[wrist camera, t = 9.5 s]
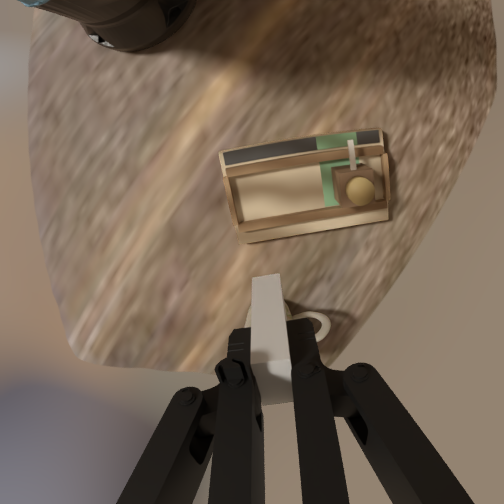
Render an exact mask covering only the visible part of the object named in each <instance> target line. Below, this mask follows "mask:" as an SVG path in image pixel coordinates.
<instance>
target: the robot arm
mask: <svg viewBox="0 0 504 504" xmlns="http://www.w3.org/2000/svg"><path fill="white" fill-rule="evenodd" d="M18 1H20V2H22V3H23V4H24V5H25V6H28V7H36V8H39V9H43V10H46V11H49V12H53V13H56V14H59V15H62V16H65V17H68V18H71V19H74V20H76V21H79V22H80V24H81V25H82V27H83V28H84V30H85V32H86V33H87V35H88V36H89V37H90V38H91V39H92V40H93V41H95V42H96V43H98V44H99V45H102V46H104V47H107V48H110V49H113V50H117V51H137V50H142V49H146V48H149V47H151V46H154V45H156V44H158V43H160V42H162V41H164V40H165V39H167V38H168V37H170V36H171V35H172V34H173V33H175V32H176V31H177V30H178V29H179V28H180V27H181V26H182V25H183V24H184V23H185V21H186V20H187V19H188V17H189V16H190V14H191V12H192V10H193V8H194V5H195V3H196V0H18ZM215 372H216V375H217V377H218V379H219V382H220V383H219V384H218V385H217V386H215V387H213V388H211V389H207V390H204V391H200V390H199V389H198V388H195V387H186V388H183V389H180V390H179V391H177V392H176V393H175V395H174V396H173V398H172V399H171V401H170V403H169V405H168V407H167V409H166V411H165V413H164V414H163V417H162V418H161V420H160V422H159V424H158V426H157V428H156V430H155V431H154V433H153V435H152V437H151V439H150V441H149V443H148V445H147V446H146V448H145V450H144V452H143V454H142V456H141V458H140V460H139V461H138V463H137V465H136V467H135V469H134V471H133V473H132V475H131V477H130V478H129V480H128V482H127V484H126V486H125V488H124V490H123V492H122V494H121V495H120V497H119V499H118V501H117V503H116V504H192V503H193V500H194V498H195V496H196V493H197V490H198V488H199V486H200V483H201V481H202V478H203V476H204V473H205V471H206V468H207V465H208V463H209V461H210V458H211V455H212V453H213V457H212V467H211V478H210V488H209V498H208V504H265V481H264V480H265V475H264V474H265V473H264V427H263V426H264V424H263V423H264V422H263V413H262V409H261V402H262V405H263V406H264V405H272V404H280V403H287V402H294V411H295V421H296V432H297V443H298V454H299V465H300V476H301V488H302V501H303V504H349V497H348V492H347V485H346V480H345V474H344V468H343V462H342V457H341V451H340V446H339V441H338V436H337V430H336V425H335V420H334V416H335V417H344V419H345V421H346V423H347V424H348V426H349V428H350V429H351V431H352V433H353V435H354V437H355V438H356V440H357V442H358V444H359V445H360V447H361V449H362V451H363V452H364V454H365V456H366V458H367V459H368V461H369V463H370V465H371V466H372V468H373V470H374V471H375V473H376V475H377V477H378V479H379V480H380V482H381V484H382V485H383V487H384V489H385V491H386V493H387V494H388V496H389V498H390V499H391V501H392V503H393V504H474V503H473V501H472V500H471V498H470V497H469V495H468V494H467V493H466V491H465V490H464V488H463V487H462V485H461V484H460V483H459V481H458V480H457V478H456V477H455V476H454V474H453V473H452V472H451V470H450V469H449V467H448V466H447V464H446V463H445V462H444V460H443V459H442V457H441V456H440V455H439V453H438V452H437V451H436V449H435V448H434V446H433V445H432V444H431V442H430V441H429V440H428V438H427V437H426V436H425V434H424V433H423V432H422V430H421V429H420V427H419V426H418V425H417V423H416V422H415V421H414V419H413V418H412V417H411V415H410V414H409V413H408V411H407V410H406V409H405V407H404V406H403V405H402V403H401V402H400V401H399V399H398V398H397V397H396V395H395V394H394V393H393V391H392V390H391V389H390V387H389V386H388V385H387V383H386V382H385V381H384V379H383V378H382V377H381V376H380V374H379V373H378V372H377V370H376V369H375V368H374V367H373V366H371V365H370V364H367V363H356V364H352V365H351V366H349V367H348V368H347V369H346V370H345V371H339V370H332V369H329V368H327V367H326V366H324V365H323V363H322V362H321V359H320V355H319V350H318V346H317V341H316V337H315V333H314V328H313V324H312V322H311V321H310V320H309V319H308V318H307V317H306V318H300V319H294V320H288V321H287V316H286V309H285V303H284V298H283V292H282V286H281V280H280V275H279V273H278V274H272V275H266V276H260V277H254V278H252V308H251V327H247V328H240V329H234V330H233V331H232V333H231V335H230V336H229V342H228V352H227V358H225V359H223V360H221V361H220V362H219V363H218V364H217V365H216V367H215Z"/></svg>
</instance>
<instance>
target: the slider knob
mask: <svg viewBox="0 0 504 504" xmlns="http://www.w3.org/2000/svg"><path fill="white" fill-rule="evenodd" d="M347 144H348V151H349V160H350V165H342V166H335V167H331V173H332V181H333V189H334V198H335V200H336V201H337V202H338V203H339V204H340V206H341V207H342V208H348V207H355V206H363V205H368V204H374V203H376V202H375V188H374V175H373V169H372V168H370V167H368V166H366V165H365V164H363V163H358V164H356V159H355V151H354V143H353V140H347Z"/></svg>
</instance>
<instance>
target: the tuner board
mask: <svg viewBox="0 0 504 504" xmlns="http://www.w3.org/2000/svg"><path fill="white" fill-rule="evenodd" d="M347 140H353V143H354V151H355V159H356V164H358V163H363V164H365V165H366V166H368V167H370V168H372V169H373V175H374V188H375V202H376V203H374V204H368V205H363V206H355V207H348V208H342V207H341V206H340V204H339V203H338V202H337V201H336V200H335V198H334V189H333V181H332V173H331V167H335V166H342V165H350V160H349V151H348V144H347ZM219 158H220V162H221V167H222V171H223V176H224V177H223V181H224V186H225V190H226V195H227V199H228V204H229V208H230V212H231V217H232V221H233V226H235V229H236V234H237V238H238V243H239V245H241V244H246V243H252V242H258V241H264V240H270V239H276V238H281V237H287V236H293V235H299V234H305V233H311V232H317V231H323V230H329V229H335V228H341V227H347V226H353V225H359V224H365V223H371V222H377V221H384V220H389V217H388V201H389V200H391V198H390V180H389V166H388V155H387V153H385V152H384V144H383V135H382V129H381V128H370V129H359V130H350V131H340V132H332V133H324V134H316V135H309V136H302V137H295V138H289V139H282V140H276V141H270V142H265V143H259V144H253V145H248V146H243V147H238V148H233V149H228V150H223V151H219Z"/></svg>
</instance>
